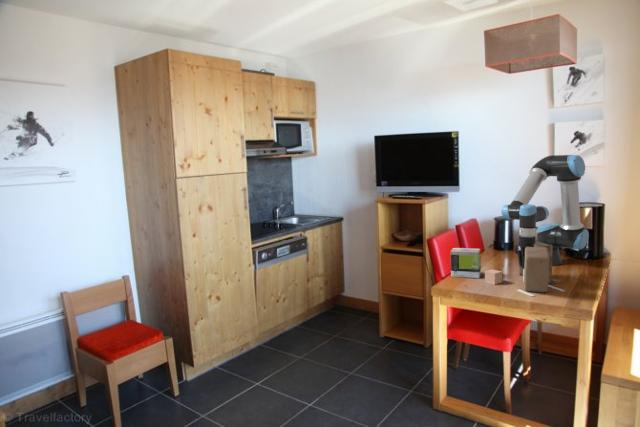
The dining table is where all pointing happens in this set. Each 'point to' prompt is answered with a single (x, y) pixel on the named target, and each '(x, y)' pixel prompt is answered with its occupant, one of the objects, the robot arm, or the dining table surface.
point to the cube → (493, 276)
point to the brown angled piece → (550, 279)
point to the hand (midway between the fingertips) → (526, 281)
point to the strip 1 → (525, 292)
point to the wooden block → (536, 269)
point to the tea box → (465, 262)
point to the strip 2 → (555, 288)
